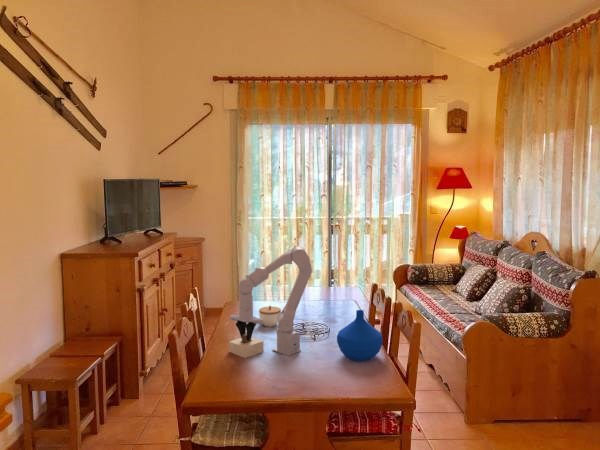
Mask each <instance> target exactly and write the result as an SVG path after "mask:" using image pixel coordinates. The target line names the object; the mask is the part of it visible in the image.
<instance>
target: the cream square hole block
mask: <svg viewBox="0 0 600 450" xmlns="http://www.w3.org/2000/svg"><path fill="white" fill-rule="evenodd" d="M228 344H229V349H228V350H229V353H231V354H234V355H236V356H239V357H242V358H243V359H247V358H249V357H252V356H255V355H257V354H261V353H263V352H264V340H261V339H258V338H256V337H253V336H252V337H251V342H248V343H245V344H244V343H242V339H241V337H239V338H236V339H233V340H230V341H229V342H228Z"/></svg>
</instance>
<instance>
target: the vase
mask: <svg viewBox="0 0 600 450" xmlns="http://www.w3.org/2000/svg"><path fill="white" fill-rule="evenodd" d="M364 312H365V311H364V310H363V309H356V313H355V314H356V315H355V319H354V320H352V322H350V323H349V324H348V325H346V326H344V327H343V328H341V329H340V330H338V333H337V335H336V342H337V345H338V347H339V351H341V353H342V354H343V356H345V357H346V358H347V360H348V359H349V360H350V361H354V362H361V363H363V362H368V361H371V360H372V359H374V358H375V357H377V355H378V354H379V352H380V351H381V349H382V346H383V339H384V338H383V335H382V333H381V332H380V331H379V330H378V329H376V328H375V327H374V326H372V325H371V324H370V323H369V322H368V321H367V320H366V319H365V316H364V315H365V314H364Z"/></svg>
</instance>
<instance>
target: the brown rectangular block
mask: <svg viewBox="0 0 600 450" xmlns="http://www.w3.org/2000/svg"><path fill="white" fill-rule="evenodd" d="M248 342H251V339H250V340H247V332H246V333H245V334H243V335H242V343H244V344H245V343H248Z"/></svg>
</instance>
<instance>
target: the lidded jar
mask: <svg viewBox="0 0 600 450" xmlns="http://www.w3.org/2000/svg"><path fill="white" fill-rule="evenodd" d="M258 312H259V319H262V322H263V325H264V326H265V327H270V328H271V327H275V326H276V325H278V320H277V317H278V315H279V313H281V312H282V308H280V307H278V306H272V305H268V306H263V307H261V308H259V309H258Z"/></svg>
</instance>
